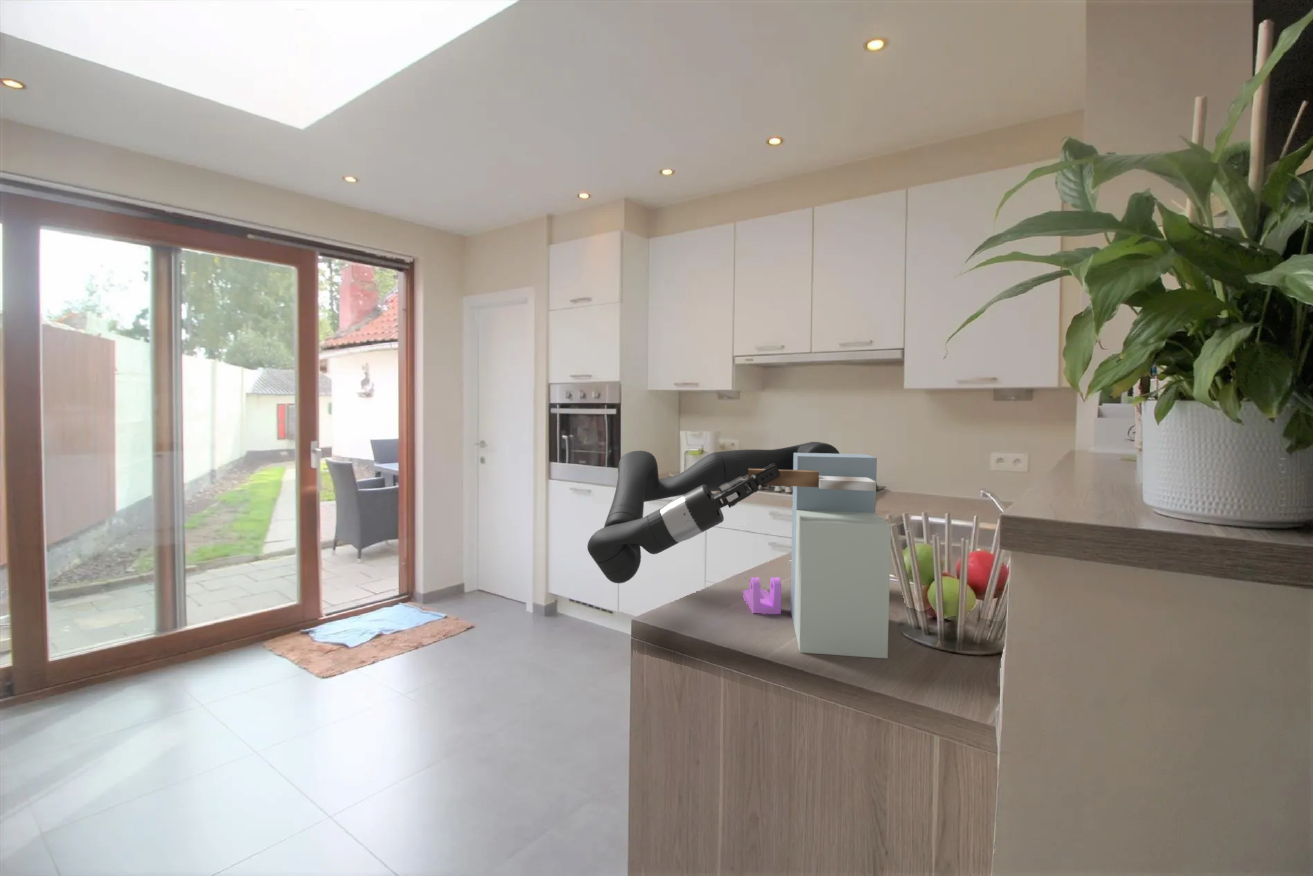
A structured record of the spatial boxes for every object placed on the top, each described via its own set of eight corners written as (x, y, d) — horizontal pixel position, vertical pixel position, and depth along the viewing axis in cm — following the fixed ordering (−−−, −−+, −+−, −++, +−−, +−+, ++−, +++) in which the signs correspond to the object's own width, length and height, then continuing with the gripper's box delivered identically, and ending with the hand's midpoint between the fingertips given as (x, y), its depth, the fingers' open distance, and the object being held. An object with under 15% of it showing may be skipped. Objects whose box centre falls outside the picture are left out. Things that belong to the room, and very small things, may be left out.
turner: (747, 486, 102) (748, 470, 102) (747, 481, 109) (748, 467, 109) (875, 490, 99) (876, 475, 99) (867, 485, 106) (867, 471, 105)
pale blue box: (799, 652, 99) (803, 461, 98) (790, 609, 121) (793, 452, 120) (887, 658, 97) (892, 463, 96) (861, 614, 119) (866, 454, 117)
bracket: (780, 614, 118) (781, 580, 118) (753, 614, 118) (753, 580, 118) (765, 594, 131) (766, 563, 131) (740, 594, 131) (741, 563, 131)
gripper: (677, 501, 100) (768, 452, 98) (685, 490, 114) (766, 447, 111) (698, 540, 100) (791, 493, 97) (704, 525, 114) (785, 483, 111)
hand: (777, 469), depth 104 cm, fingers closed on turner, 2 cm apart
